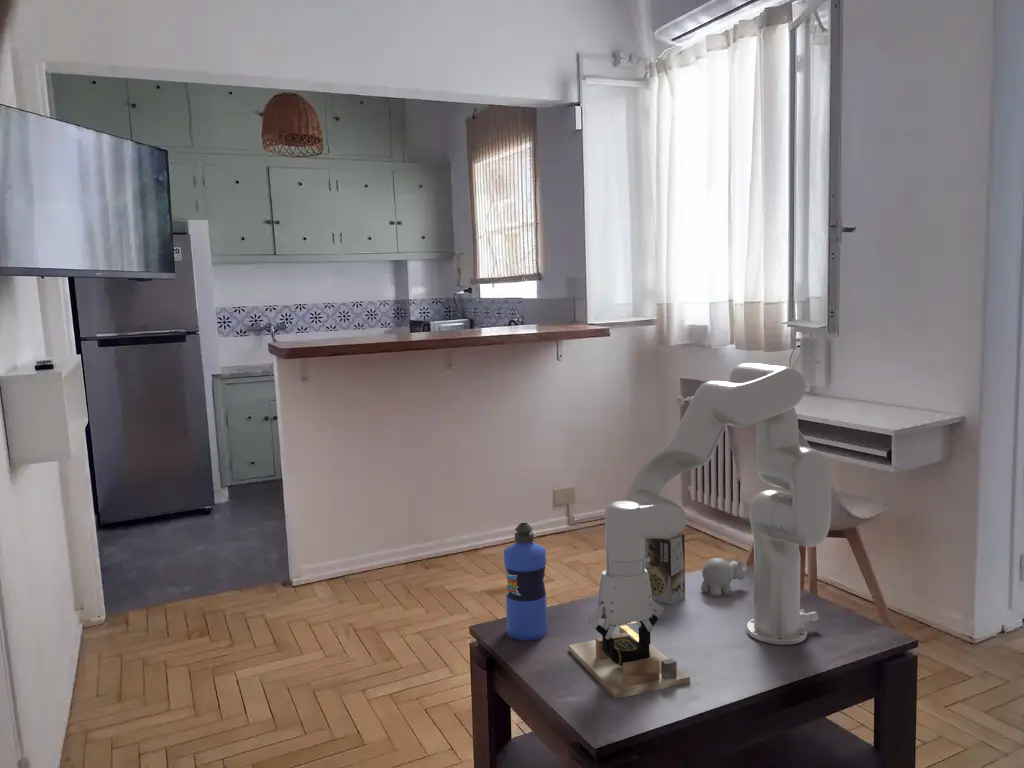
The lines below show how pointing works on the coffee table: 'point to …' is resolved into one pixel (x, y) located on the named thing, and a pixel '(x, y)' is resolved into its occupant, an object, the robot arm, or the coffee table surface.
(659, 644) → the coffee table surface
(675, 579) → the coffee box
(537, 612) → the water bottle
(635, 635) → the yellow bar
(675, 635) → the coffee table surface
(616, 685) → the dock
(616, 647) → the tape measure
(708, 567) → the white animal figurine
